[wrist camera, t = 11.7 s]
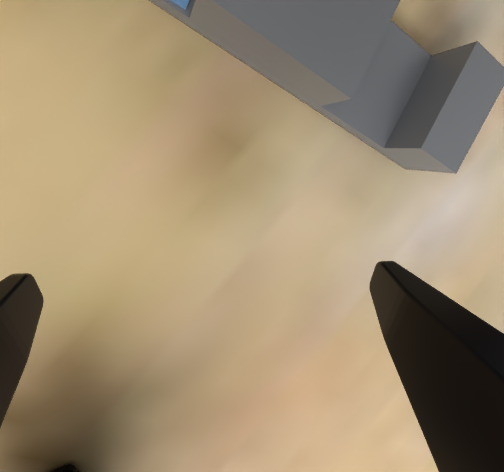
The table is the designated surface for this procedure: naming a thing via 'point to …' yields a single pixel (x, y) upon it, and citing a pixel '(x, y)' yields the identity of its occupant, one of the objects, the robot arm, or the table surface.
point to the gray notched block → (359, 71)
